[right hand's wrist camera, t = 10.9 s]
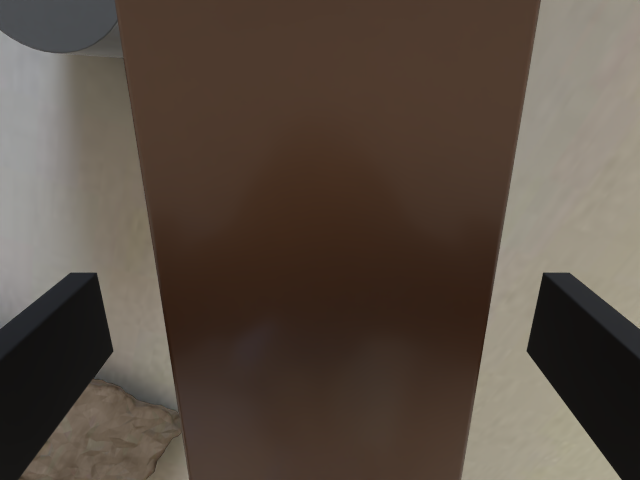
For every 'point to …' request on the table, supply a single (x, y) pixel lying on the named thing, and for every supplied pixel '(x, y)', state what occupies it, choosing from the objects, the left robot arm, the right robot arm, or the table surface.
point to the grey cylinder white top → (63, 26)
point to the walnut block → (326, 222)
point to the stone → (106, 438)
